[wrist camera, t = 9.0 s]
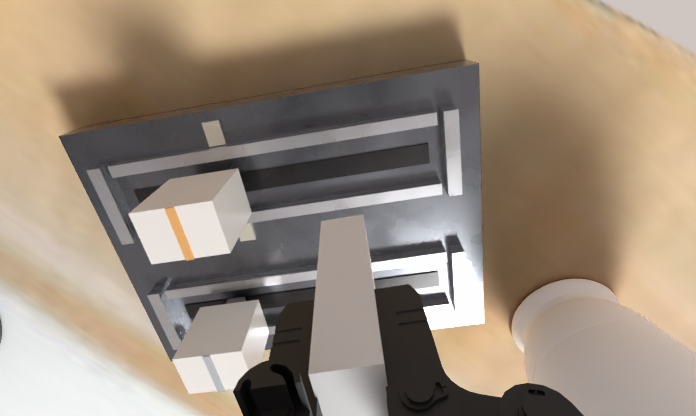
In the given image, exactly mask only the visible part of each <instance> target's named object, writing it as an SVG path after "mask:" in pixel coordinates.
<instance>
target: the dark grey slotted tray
mask: <svg viewBox="0 0 696 416" xmlns="http://www.w3.org/2000/svg"><path fill="white" fill-rule="evenodd" d="M59 138H60V140H61V142H62V144H63V146H64V148H65V150H66V152H67V154H68V156H69V158H70V160H71V162H72V164H73V166H74V168H75V170H76V172H77V174H78V176H79V178H80V180H81V182H82V184H83V186H84V188H85V190H86V192H87V194H88V196H89V198H90V200H91V202H92V204H93V206H94V208H95V210H96V212H97V214H98V216H99V218H100V220H101V222H102V224H103V226H104V228H105V230H106V232H107V234H108V236H109V238H110V240H111V242H112V244H113V246H114V248H115V250H116V252H117V254H118V256H119V258H120V260H121V262H122V264H123V266H124V268H125V270H126V272H127V274H128V276H129V278H130V280H131V282H132V284H133V286H134V288H135V290H136V292H137V294H138V296H139V298H140V300H141V302H142V304H143V306H144V308H145V310H146V312H147V314H148V316H149V318H150V320H151V322H152V324H153V326H154V328H155V330H156V332H157V334H158V336H159V338H160V340H161V342H162V344H163V346H164V348H165V350H166V352H167V354H168V356H169V358H170V360H171V361H173V360H172V359H173V357H174V355H175V353H176V352H177V350H178V348H179V346H180V344H181V342H182V340H183V339H184V337H185V335H186V333H187V331H188V329H189V327H190V325H191V324H192V322H193V320H194V318H195V316H196V314H197V312H198V311H199V309H200V307H207V306H214V305H222V304H226V302H227V300H228V299H232V298H239V297H245V299H246V301H252V300H259V302H260V305H261V308H262V311H263V314H264V317H265V320H266V323H267V326H268V329H269V335H268V339H267V343H266V346H265V350H268V349H271V347H272V346H273V345H272V342H273V337H274V334H275V328H276V323H277V318H278V316H279V314H280V313H281V312H282V310H283V309H284V307H285V306H286V305H287V304H288V303H294V302H301V301H307V300H314V299H315V289H316V277H317V265H318V253H319V241H320V229H321V221H325V220H331V219H337V218H343V217H350V216H356V215H362V214H363V216H364V222H365V228H366V234H367V240H368V246H369V252H370V258H371V264H372V270H373V275H374V282H375V289H379V288H386V287H392V286H399V285H405V284H409V285H410V286H411V287H413V288H414V289H415V290H416V291H417V292H418V293H419V294H420V297H421V300H422V303H423V307H424V311H425V313H426V316H427V320H428V323H429V326H430V329H431V330H432V329H440V328H448V327H456V326H465V325H473V324H481V323H484V290H483V240H482V190H481V140H480V90H479V63H476V62H473V61H469V60H461V61H456V62H450V63H444V64H438V65H433V66H427V67H421V68H416V69H410V70H404V71H398V72H393V73H387V74H381V75H375V76H370V77H364V78H358V79H353V80H347V81H341V82H335V83H330V84H324V85H318V86H313V87H307V88H301V89H295V90H290V91H284V92H278V93H273V94H267V95H261V96H255V97H250V98H244V99H238V100H232V101H227V102H221V103H215V104H210V105H204V106H198V107H192V108H187V109H181V110H175V111H170V112H164V113H158V114H152V115H147V116H141V117H135V118H130V119H124V120H118V121H112V122H107V123H101V124H95V125H89V126H85V127H82V128H79V129H77V130H74V131H71V132H69V133H66V134H63V135H61V136H59ZM236 168H238V169H239V173H240V176H241V179H242V182H243V186H244V189H245V192H246V196H247V199H248V202H249V205H250V209H251V212H252V214H251V215H250V217H249V219H248V221H247V223H246V225H245V227H244V229H243V231H242V232H241V234H240V236H239V238H238V240H237V242H236V244H235V246H234V247H233V249H232V251H231V253H228V254H221V255H214V256H208V257H201V258H195V259H194V260H187V261H186V260H180V261H173V262H166V263H159V264H151V262H150V260H149V258H148V256H147V253H146V251H145V249H144V247H143V245H142V243H141V240H140V238H139V236H138V234H137V232H136V230H135V227H134V225H133V223H132V221H131V219H130V217H129V214H128V213H130V212H131V211H132V210H133V209H134V208H136V207H137V206H138V205H139V204H140V203H142V202H143V201H144V200H145V199H146V198H148V197H149V196H150V195H151V194H152V193H154V192H155V191H156V190H157V189H158V188H160V187H161V186H162V185H163V184H164V183H166V182H167V181H168V180H169V179H174V178H180V177H186V176H192V175H199V174H205V173H211V172H217V171H223V170H230V169H236Z"/></svg>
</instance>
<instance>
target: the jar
mask: <svg viewBox="0 0 696 416" xmlns="http://www.w3.org/2000/svg"><path fill="white" fill-rule="evenodd" d="M512 336H513V339H514V341H515V343H516V344H517V346H518V347H519V348H520V349H521V350H522V351H523V352H524V364H525V370H526V375H527V378H528V382H529V383H532V384H539V385H544V386H546V387H549V388H551V389H553V390H555V391H558V392H559V393H561V394H562V395H563V396H564V397H565V398H567V399H568V400H569V401H570V402H572V403H573V405H574V406H575V407H576V408H577V409H578V410H579V411H580V412H581V413H582V414H583V415H584V416H696V353H695V352H693V351H692V350H691V349H689V348H688V347H687V346H685V345H684V344H683V343H681V342H680V341H678V340H677V339H675V338H674V337H672V336H671V335H669V334H668V333H666V332H665V331H664V330H662V329H661V328H660V327H658V326H657V325H656V324H654V323H653V322H652V321H650V320H649V319H647V318H646V317H644V316H642V315H641V314H639V313H637V312H635V311H634V310H632V309H630V308H628V307H625V306H623V305H621V304H620V302H619V300H618V298H617V297H616V296H615V294H614V293H613V292H612V291H611V290H610V289H609V288H607V287H606V286H604V285H602V284H600V283H598V282H595V281H591V280H587V279H565V280H560V281H556V282H553V283H550V284H547V285H545V286H543V287H541V288H539V289H537V290H536V291H534V292H533V293H531V294H530V295H529V296H528V297H527V298H526V299H524V301H523V302H522V303H521V304H520V305H519V307H518V308H517V310H516V312H515V314H514V316H513V320H512Z"/></svg>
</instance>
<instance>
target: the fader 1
mask: <svg viewBox="0 0 696 416" xmlns="http://www.w3.org/2000/svg"><path fill="white" fill-rule="evenodd" d="M128 214H129V217H130V219H131V221H132V223H133V225H134V227H135V230H136V232H137V234H138V236H139V238H140V240H141V243H142V245H143V247H144V249H145V251H146V253H147V256H148V258H149V260H150V262H151V264H159V263H166V262H173V261H180V260H186V261H187V260H194V259H195V258H201V257H208V256H214V255H221V254H228V253H231V251H232V249H233V247H234V246H235V244H236V242H237V240H238V238H239V236H240V234H241V232H242V231H243V229H244V227H245V225H246V223H247V221H248V219H249V217H250V215H251V214H252V212H251V209H250V205H249V202H248V199H247V196H246V192H245V189H244V186H243V182H242V179H241V176H240V173H239V169H238V168H236V169H230V170H223V171H217V172H211V173H205V174H199V175H192V176H186V177H180V178H174V179H169V180H168V181H167V182H166V183H164V184H163V185H162V186H161V187H160V188H158V189H157V190H156V191H155V192H154V193H152V194H151V195H150V196H149V197H148V198H146V199H145V200H144V201H143V202H142V203H140V204H139V205H138V206H137V207H136V208H134V209H133V210H132V211H131V212H130V213H128Z"/></svg>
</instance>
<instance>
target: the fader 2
mask: <svg viewBox="0 0 696 416" xmlns="http://www.w3.org/2000/svg"><path fill="white" fill-rule="evenodd" d="M268 335H269V329H268V326H267V323H266V320H265V317H264V314H263V311H262V308H261V305H260V302H259V300H252V301H246V299H245V297H239V298H232V299H228V300H227V302H226V304H222V305H214V306H207V307H200V309H199V311H198V312H197V314H196V316H195V318H194V320H193V322H192V324H191V325H190V327H189V329H188V331H187V333H186V335H185V337H184V339H183V340H182V342H181V344H180V346H179V348H178V350H177V352H176V353H175V355H174V357H173V359H172V360H173V362H174V364H175V366H176V368H177V370H178V372H179V374H180V376H181V378H182V380H183V382H184V384H185V386H186V388H187V390H188V392H189V394H193V393H202V392H210V391H218V392H224V391H225V390H228V389H235V386H236V384H237V382H238V380H239V379H240V378H241V377H242V376H243V375H244V374H245V373H246V372H247V371H248V370H249V369H251V368H252V367H254V366H256V365H257V364H259V363H261V361H262V358H263V354H264V350H265V346H266V343H267V339H268Z"/></svg>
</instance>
